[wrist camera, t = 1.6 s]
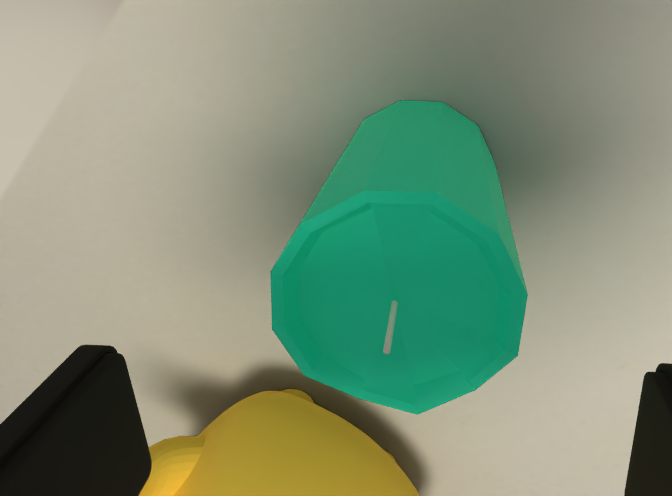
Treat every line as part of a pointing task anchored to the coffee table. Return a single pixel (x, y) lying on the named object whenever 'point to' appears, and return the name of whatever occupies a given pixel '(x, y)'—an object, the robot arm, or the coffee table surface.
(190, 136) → the coffee table surface
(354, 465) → the teapot
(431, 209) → the candle
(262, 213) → the coffee table surface
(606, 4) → the coffee table surface
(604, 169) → the coffee table surface
